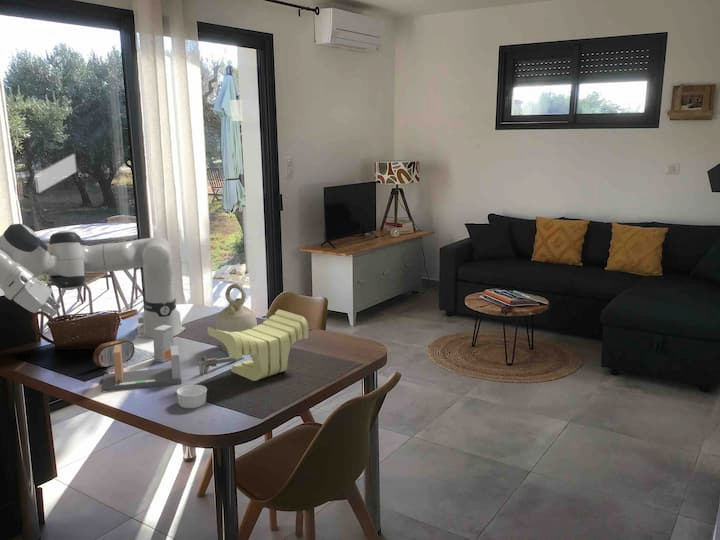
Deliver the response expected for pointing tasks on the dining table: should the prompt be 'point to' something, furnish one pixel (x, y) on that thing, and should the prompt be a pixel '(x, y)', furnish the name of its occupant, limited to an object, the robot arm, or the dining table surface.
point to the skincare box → (162, 342)
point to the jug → (235, 315)
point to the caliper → (213, 363)
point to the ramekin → (192, 396)
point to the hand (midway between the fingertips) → (57, 311)
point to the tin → (105, 352)
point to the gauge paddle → (118, 363)
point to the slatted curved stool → (264, 344)
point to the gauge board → (146, 376)
